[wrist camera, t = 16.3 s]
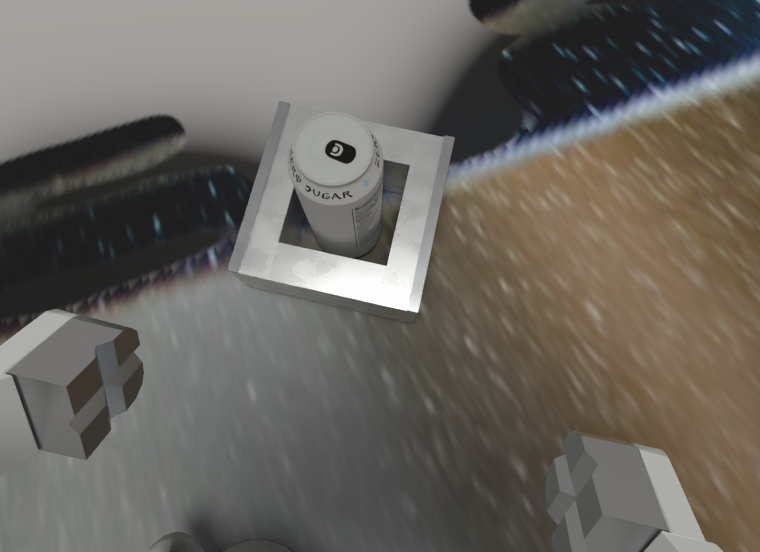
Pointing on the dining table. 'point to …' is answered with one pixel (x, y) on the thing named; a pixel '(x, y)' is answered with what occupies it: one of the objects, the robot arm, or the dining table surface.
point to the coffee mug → (182, 548)
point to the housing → (333, 272)
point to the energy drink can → (339, 182)
